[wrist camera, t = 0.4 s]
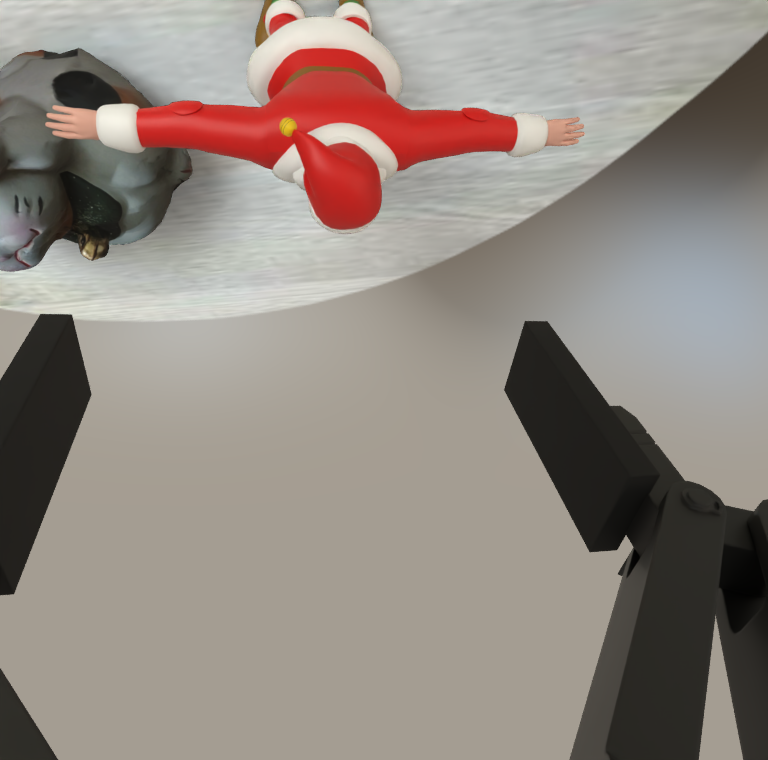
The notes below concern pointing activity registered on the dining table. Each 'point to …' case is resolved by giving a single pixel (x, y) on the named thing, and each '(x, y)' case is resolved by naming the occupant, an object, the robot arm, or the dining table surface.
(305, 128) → the santa figurine
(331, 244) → the dining table surface
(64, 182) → the lucky cat figurine
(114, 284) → the dining table surface
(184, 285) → the dining table surface
